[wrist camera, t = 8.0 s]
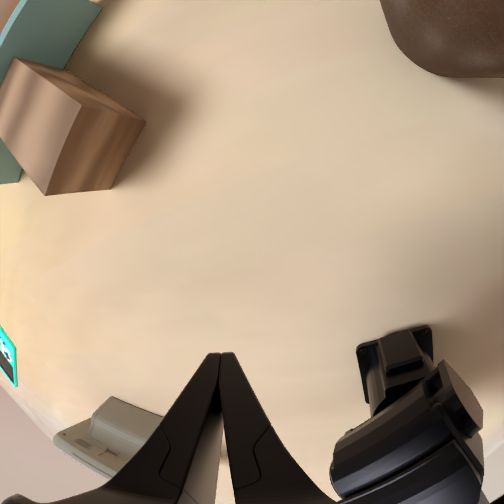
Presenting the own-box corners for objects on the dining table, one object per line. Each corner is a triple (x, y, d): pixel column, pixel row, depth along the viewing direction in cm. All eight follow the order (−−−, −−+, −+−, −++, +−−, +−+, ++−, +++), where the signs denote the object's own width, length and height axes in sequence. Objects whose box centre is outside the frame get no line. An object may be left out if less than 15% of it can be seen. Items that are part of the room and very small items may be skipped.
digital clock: (98, 415, 33) (57, 457, 23) (93, 375, 31) (40, 419, 21) (196, 467, 31) (165, 523, 21) (206, 434, 28) (167, 502, 18)
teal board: (102, 8, 20) (43, -23, 10) (18, 182, 27) (-43, 190, 18) (72, 2, 20) (20, -20, 11) (-1, 155, 28) (-54, 158, 18)
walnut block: (147, 122, 22) (81, 105, 14) (111, 189, 24) (44, 195, 16) (64, 70, 23) (13, 56, 15) (39, 122, 25) (-12, 118, 17)
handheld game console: (18, 347, 37) (13, 350, 36) (19, 386, 42) (15, 389, 41) (-8, 309, 38) (-13, 312, 36) (-5, 354, 43) (-9, 356, 41)
